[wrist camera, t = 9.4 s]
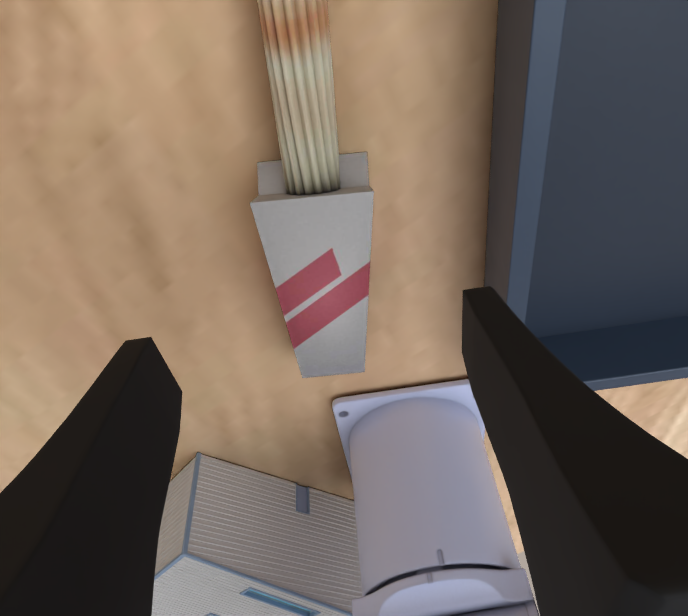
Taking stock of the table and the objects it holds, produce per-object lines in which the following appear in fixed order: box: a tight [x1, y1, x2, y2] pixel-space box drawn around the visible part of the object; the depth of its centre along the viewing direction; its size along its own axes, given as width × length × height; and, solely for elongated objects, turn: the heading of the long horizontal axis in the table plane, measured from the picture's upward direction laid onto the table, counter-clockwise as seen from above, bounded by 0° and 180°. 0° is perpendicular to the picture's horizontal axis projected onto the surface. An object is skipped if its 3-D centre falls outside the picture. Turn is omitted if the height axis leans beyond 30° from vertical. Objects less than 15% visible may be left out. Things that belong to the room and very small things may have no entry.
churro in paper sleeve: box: [250, 0, 374, 378], centre depth 17 cm, size 4×3×20 cm
